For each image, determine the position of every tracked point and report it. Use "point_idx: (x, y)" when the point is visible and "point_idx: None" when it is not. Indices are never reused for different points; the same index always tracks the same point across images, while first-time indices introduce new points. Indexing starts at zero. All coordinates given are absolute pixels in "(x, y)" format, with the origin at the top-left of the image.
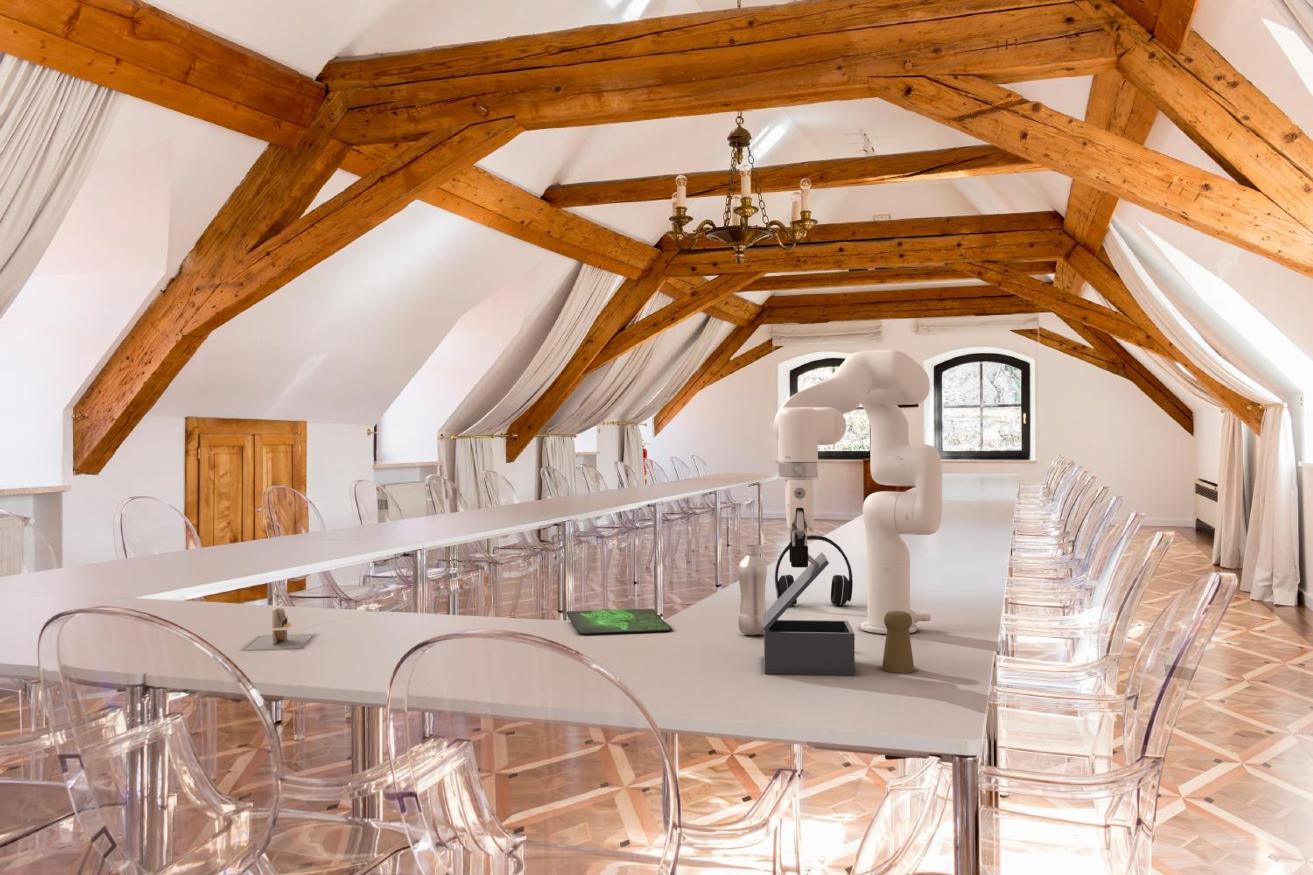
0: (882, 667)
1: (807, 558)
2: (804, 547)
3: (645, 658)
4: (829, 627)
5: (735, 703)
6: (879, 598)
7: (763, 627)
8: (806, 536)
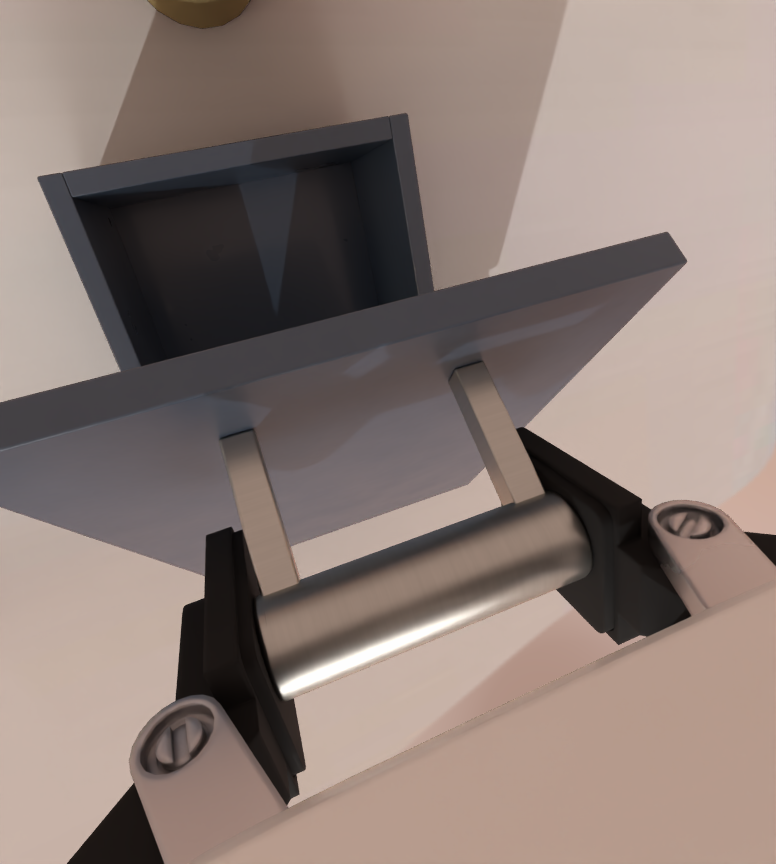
0: (213, 23)
1: (559, 453)
2: (629, 525)
3: (324, 729)
4: (111, 279)
5: (672, 403)
6: None
7: (458, 486)
8: (774, 569)
